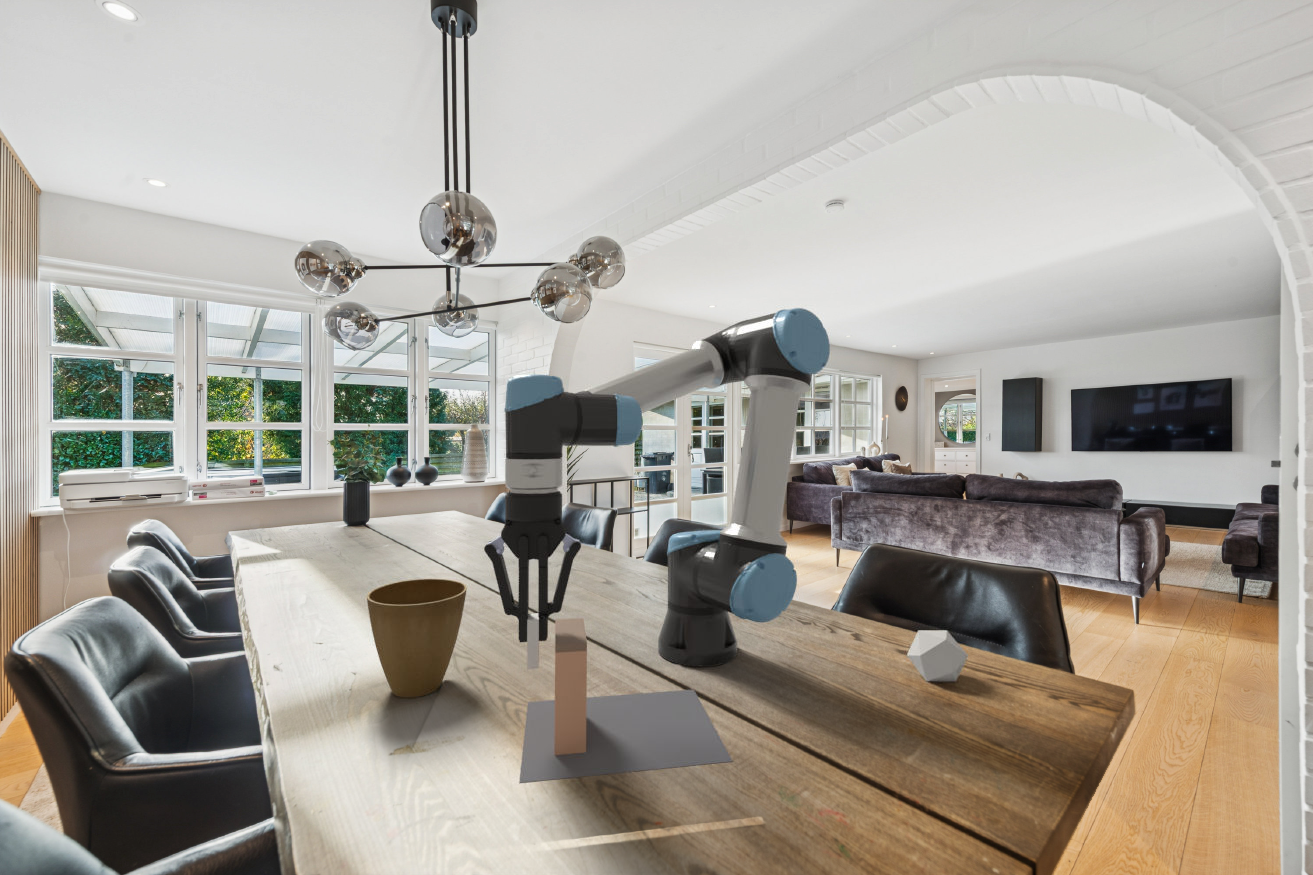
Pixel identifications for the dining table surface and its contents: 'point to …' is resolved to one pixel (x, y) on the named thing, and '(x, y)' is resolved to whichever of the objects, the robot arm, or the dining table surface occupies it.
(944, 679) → the die
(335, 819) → the dining table surface
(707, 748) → the mat
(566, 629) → the pink rectangular block
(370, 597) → the plant pot
